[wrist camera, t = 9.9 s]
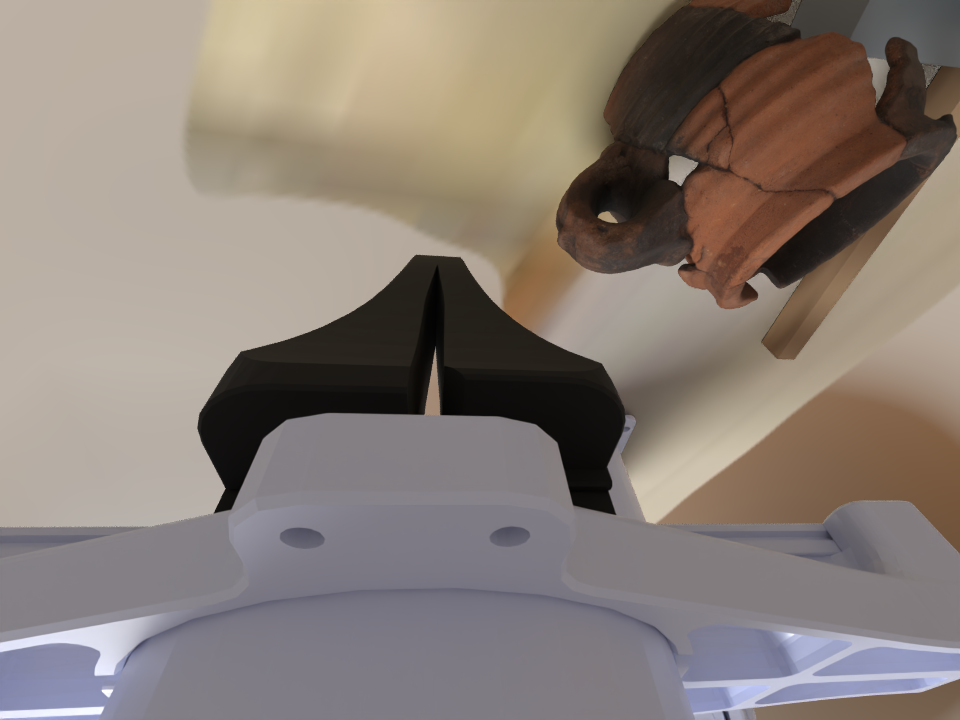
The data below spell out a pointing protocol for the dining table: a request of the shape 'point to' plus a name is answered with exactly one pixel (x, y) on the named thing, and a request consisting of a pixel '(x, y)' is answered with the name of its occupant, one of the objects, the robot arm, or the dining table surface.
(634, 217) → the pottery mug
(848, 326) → the dining table surface
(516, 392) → the robot arm
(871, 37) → the dome box
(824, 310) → the rail
